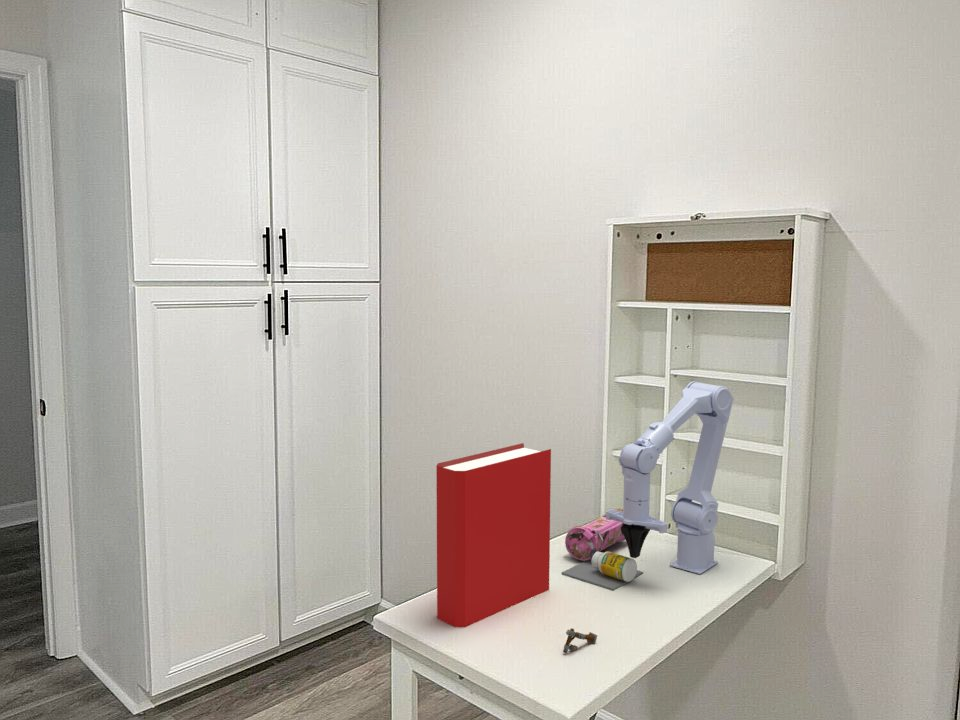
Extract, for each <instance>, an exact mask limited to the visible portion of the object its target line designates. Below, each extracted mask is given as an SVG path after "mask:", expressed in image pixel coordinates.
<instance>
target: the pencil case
mask: <svg viewBox="0 0 960 720" xmlns="http://www.w3.org/2000/svg"><path fill="white" fill-rule="evenodd" d="M612 510H616V511H623V508H621V507H620V508H613V509H612ZM623 524H624V523H623V522H619V521H615V520H607V519H606V513H605V514H604V515H602V516H599V517H597V518H596V519H594V520H593V521H591V522H589V523H587V524H586V525H575V526H573V527H571V528H570V529H569V530H568V531H567V533H566V535H565V538H564V540H565V542H564V544H565V548H566V551H567V552H568V553H569V555H570V556H572V557H573V558H575V559H576V560H579V561H581V562H584V561H587V560H590V559H591V558H592V557H593V555H594V553H595V552H601V551H603V550H605V549H607V548H608V547H609V546H612V545H614V544H617V543H619V542H623V541H626V539H625V537H624V535H623V533H622V532H621V526H623Z"/></svg>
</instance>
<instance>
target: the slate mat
mask: <svg viewBox="0 0 960 720" xmlns="http://www.w3.org/2000/svg"><path fill="white" fill-rule="evenodd" d="M591 562H592V558H591V559H590V560H587V561H581V562H580V563H578V564H576V565H574V566H572V567H569V568H568V569H566V570H564V571H562V572H561V575H562V576H565V577H569V578H572V579H575V580H578V581H581V582H584V583H588V584H591V585H594V586H597V587H599V588H600V587H601V588H603V589H607V590H610V591H615V590H617V589H618V588H620V587H622V586H624V585H625V584H627V583H628V582H626V581H623V580H620V579H617V578H613V577H610V576H607V575H604V574H602V573H601V572H600V571H599V570H597V569H595V568H593V567H592V563H591ZM643 574H644V571H641V570H638V569H637V572H636V575H635V577H634V579H636V578H638V577H639V576H641V575H643Z"/></svg>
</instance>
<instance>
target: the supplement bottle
mask: <svg viewBox="0 0 960 720" xmlns="http://www.w3.org/2000/svg"><path fill="white" fill-rule="evenodd" d="M591 563H592V567H593V568H595V569H597V570H599V571H600V572H601V573H602V574H604V575H607V576H610V577H613V578H617V579H620V580H623V581H626V582H627V583H630V582H631V581H633V580H635V578H634V577H635V575H636V572H637V570H638V563H637V561H636V560H635V558H632V557H628V556H625V555H622V554H618V553H615V552H613V551H612V552H611V551H605V552H601V551H600V552H595V553H594V555H593V557H592V562H591Z"/></svg>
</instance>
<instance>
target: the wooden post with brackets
mask: <svg viewBox="0 0 960 720" xmlns="http://www.w3.org/2000/svg"><path fill="white" fill-rule="evenodd" d="M565 634H566V635H567V639H566V642H565V643H564V646H563V650H562V652H563V653H564V654H568V651H571V652H577V651H578V646H577V645H575V644H574V645H573V644H571V642H573V641H574V640H575V638H576V639H579V640H583V641H584V640H585V641H587V642H588V643H590V644H592V645H595V644H596V642H597V638H598V636H599V635H598V634H595V633H593V632H591V631H590V632H588V634H587V633H586V634H584V633H582V632H578V631H575V629H574V628H570V629H567V630H566V631H565Z"/></svg>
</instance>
